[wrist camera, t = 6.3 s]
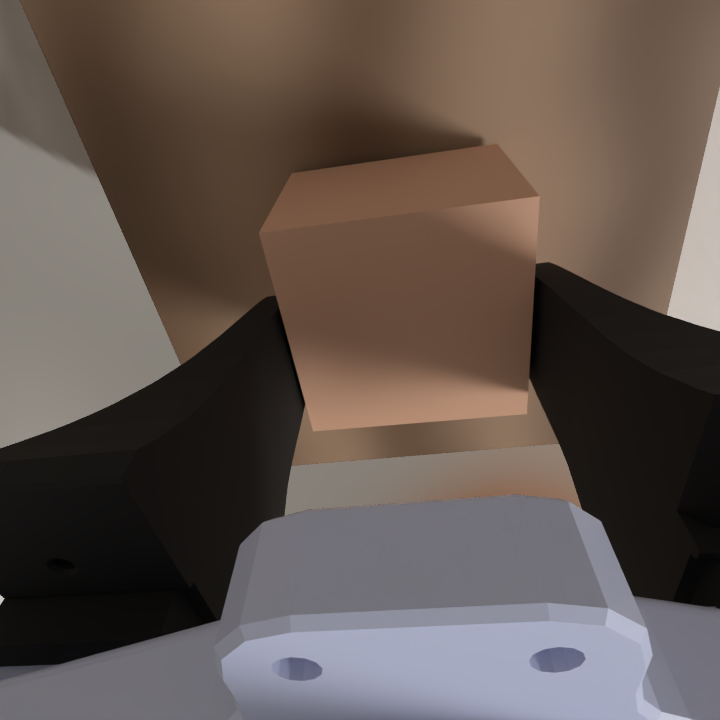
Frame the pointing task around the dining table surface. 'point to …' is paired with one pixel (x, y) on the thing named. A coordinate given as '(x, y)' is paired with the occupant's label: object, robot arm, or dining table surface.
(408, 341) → the terracotta block
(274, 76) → the walnut base
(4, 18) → the dining table surface
